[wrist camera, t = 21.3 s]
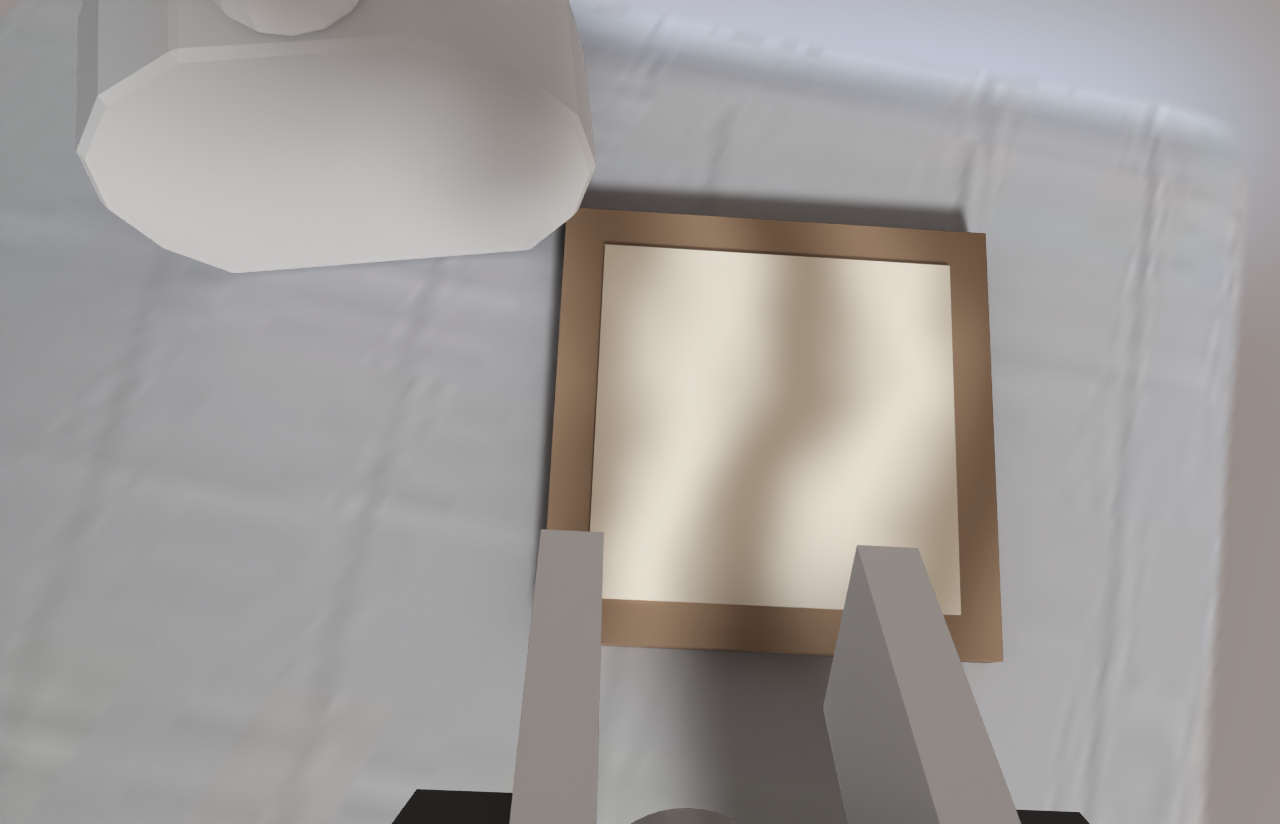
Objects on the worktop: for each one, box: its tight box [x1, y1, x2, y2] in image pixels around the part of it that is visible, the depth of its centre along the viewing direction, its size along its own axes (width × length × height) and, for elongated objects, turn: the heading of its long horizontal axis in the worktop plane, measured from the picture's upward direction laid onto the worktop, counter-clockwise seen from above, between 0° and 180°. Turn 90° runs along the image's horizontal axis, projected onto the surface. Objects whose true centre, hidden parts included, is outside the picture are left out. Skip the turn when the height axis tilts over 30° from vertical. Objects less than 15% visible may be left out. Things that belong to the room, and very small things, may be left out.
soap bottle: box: [76, 0, 596, 273], centre depth 34 cm, size 16×5×20 cm, turn 96°
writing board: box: [547, 208, 1003, 663], centre depth 41 cm, size 16×16×2 cm
